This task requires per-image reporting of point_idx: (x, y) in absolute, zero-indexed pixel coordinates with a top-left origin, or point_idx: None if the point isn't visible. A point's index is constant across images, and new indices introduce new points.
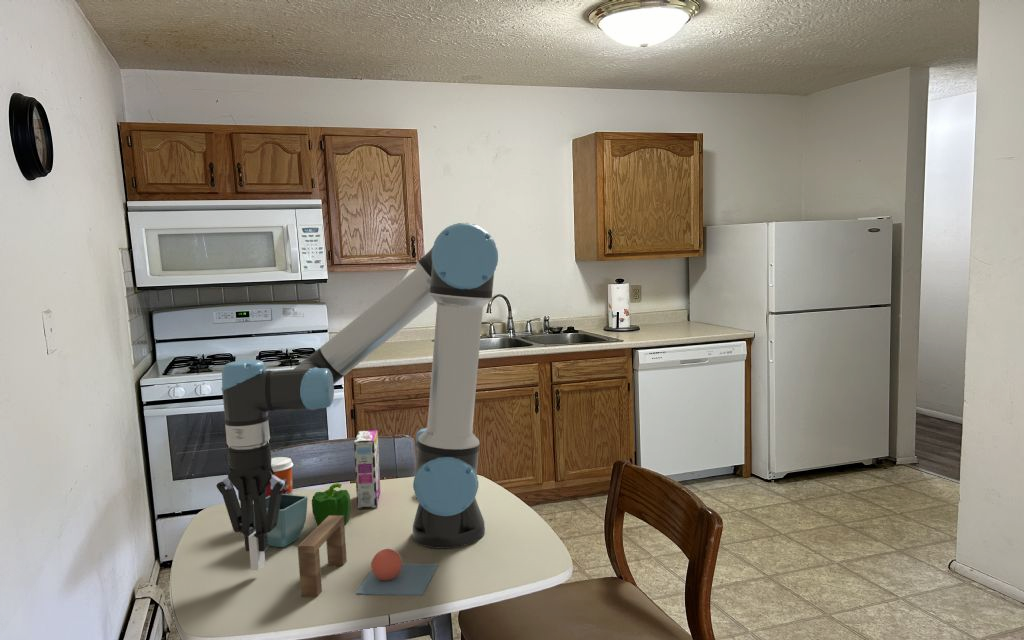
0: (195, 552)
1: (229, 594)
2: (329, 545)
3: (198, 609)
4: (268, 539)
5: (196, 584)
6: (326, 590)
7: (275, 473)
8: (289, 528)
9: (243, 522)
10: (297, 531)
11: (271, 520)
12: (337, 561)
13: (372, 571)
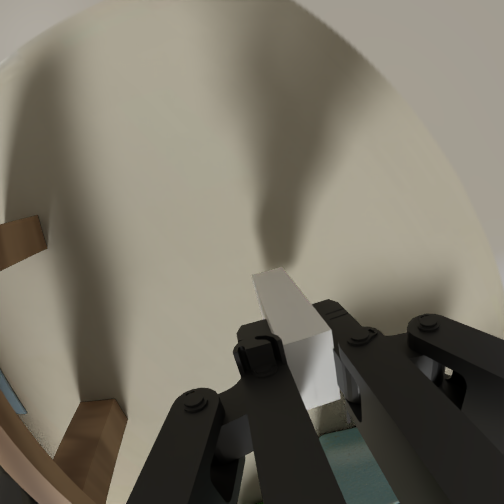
0: (494, 325)
1: (274, 145)
2: (92, 439)
3: (295, 45)
4: None
5: (419, 182)
6: (10, 271)
7: None
8: None
9: (407, 374)
10: None
11: (154, 460)
12: (88, 408)
13: (1, 378)
